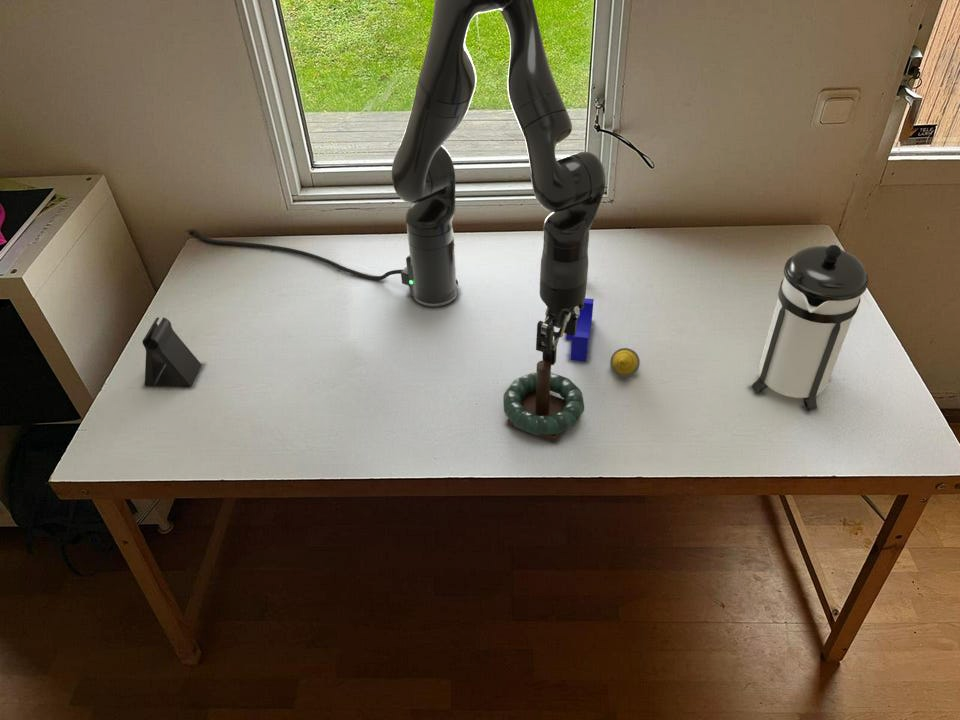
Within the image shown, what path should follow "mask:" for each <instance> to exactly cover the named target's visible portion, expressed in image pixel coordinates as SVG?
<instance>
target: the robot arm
mask: <svg viewBox="0 0 960 720" xmlns="http://www.w3.org/2000/svg"><path fill="white" fill-rule="evenodd" d="M534 3H535V2H534V0H434V5H433V13H432V21H431V26H430V32H429V35H428V36H429V37H428V40H427V46H426V49H425V53H424V59H423V62H422V66H421V69H420V71H419V77H418V79H417V84H416V88H415V91H414V92H415V93H414V98H413V102H412V106H411V110H410V113H409V117H408V120H407V123H406V127H405V131H404V133H403V136H402V139H401V141H400V144H399V146H398V149H397V151H396V154H395V156H394V159H393V162H392V166H391V181H392V185H393V189H394V191H395V193H396V194H397V196H398V197H399V198H400V199H401V200H402V201H404V202H405V203H409V204H411V205H410V207H409V208H408V210H407V211H406V213H405V225H406V232H407V233H406V234H407V242H408V244H407V245H408V253H409V254H408V256H407V257H406V259H405V262H406V263H405V264H406V266H405V267H404V268H403V269H393V270H389V271H387V272H385V273H384V274H383V275H370V274H366V273H363V272H359V271H357V270H355V269H351V268H348V267H345V266H343V265H341V264H339V263H337V262H334V261H332V260H330V259H328V258H325V257H322V256H319V255H317V254H313V253H311V252H308V251H307V252H306V251H303V250H300V249H295V248H291V247H285V246H278V245H272V244H264V243H255V242H245V241H244V242H243V241H233V240H218V239H212V238H209V237H206V236H204V235H203V234H202V233H201V232H200V231H198V230H197V229H194V228H193V229H190V230H189V231H188V235H192V234H195V235H196V236H197V237H198V238H200V239H201V240H202V241H204V242H207V243H209V244H210V243H211V244H215V245H228V246H240V247H249V248H250V247H251V248H260V249H268V250H276V251H281V252H287V253H292V254H296V255H300V256H304V257H308V258H310V259H314V260H317V261H319V262H323V263H325V264H328V265H330V266H332V267H334V268H336V269H338V270H341V271H343V272H346V273H349V274H352V275H354V276H357V277H360V278H363V279H367V280H372V281H381V280H385V279H387V278H388V277H389V276H391V275H399V274H400V278H401V284H402V285H405V286H408V290H409V296H410V297H413V299H414V301H416V302H417V303H418V304H420V305H422V306H425V307H429V308H435V307H443V306H446V305H449V304H450V303H452V302H453V301H454V300H455V299H456V298H457V296H458V286H459V281H458V279H457V270H456V269H457V268H456V254H455V253H456V252H455V237H454V220H453V219H454V216H455V213H456V169H455V166H454V161H453V159H452V157H451V154H450V153H449V151H448V150H447V149H446V147H445V146H444V144H445V143H446V141H447V140H448V139H449V138H450V137H451V136H452V135H453V133H454V132H455V131H456V130H457V128H458V127H459V126H460V124H461V123H462V122H463V121H464V118H465V117H466V115H467V113H468V110H469V107H470V105H471V102H472V99H473V96H474V93H475V90H476V85H477V73H476V68H475V65H474V63H473V60H472V57H471V55H470V53H469V51H468V49H467V46H466V38H467V33H468V30H469V26H470V24H471V21H472V19H473V18H474V17H475V16H476V15H479V14H483V13H488V12H493V11H497V10H498V11H499V12H500V14H501V16H502V17H503V19H504V22H505V24H506V27H507V30H508V34H509V43H510V46H509V47H510V49H509V50H510V52H509V64H508V70H507V71H508V73H507V95H508V99H509V103H510V106H511V109H512V111H513V114H514V116H515V119H516V121H517V123H518V126H519V128H520V130H521V131H520V132H521V133H522V135H523V138H524V141H525V145H526V153H527V157H528V162H529V171H530V180H531V186H532V192H533V194H534V197H535V199H536V201H537V202H538V204H539V205H540V206H541V207H542V208H543V209H545V210H546V211H548V212H551V213H549V214H548V215H547V217H546V218H545V220H544V222H543V229H542V252H541V256H540V273H539V297H540V299H541V301H542V302H543V303H544V304H545V306H546V309H545V314H544V315H545V318H544V321H542V320H538V322H537V324H536V327H537V328H536V339H535V340H536V341H535V350H536V351H537V352H541V353H542V359H541V361H542V360H546V361H548V362H550V363H551V366H554V365H555V364H556V362H557V351H558V350H557V348H558V343H559V341H560V339H561V338H563V336H564V335H566V334H568V335H571V336H574V335H575V334H576V328H577V318H578V317H579V315H580V312H579V310H580V309H581V310H582V309H583V308H584V299H585V298H586V295H587V284H588V275H589V274H588V273H589V245H590V244H589V243H590V230H591V227H592V226H593V223H594V220H595V218H596V216H597V212H598V210H599V207H600V205H601V203H602V200H603V197H604V194H605V189H606V173H605V168H604V165H603V163H602V161H601V159H599V157H598V156H597V155H595V153H592V152H590V151H579V152H575V153H573V154H569V155H567V156H564V157H562V158H561V157H560V158H558V159H557V157H556V145H557V144H560V143H561V142H562V141H564V140H565V139H567V138H568V137H569V136H570V135H571V133H572V130H573V123H572V121H571V117H570V114H569V113H568V112H569V111H567V108H566V105H565V103H564V100H563V98H562V95H561V92H560V91H559V88H558V86H557V83H556V82H555V81H556V80H555V78H554V76H553V73H552V70H551V66H550V64H549V61H548V57H547V54H546V49H545V46H544V42H543V38H542V33H541V29H540V25H539V20H538V15H537V11H536V8H535V7H536V6H535V4H534ZM555 328H556V329H559V330H558V331H557V330H556V329H555Z"/></svg>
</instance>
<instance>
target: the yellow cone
mask: <svg viewBox="0 0 960 720" xmlns="http://www.w3.org/2000/svg"><path fill="white" fill-rule="evenodd" d="M640 364H641V361H640V357H639V355H638V354H637V353H636V351H634V350H633V349H631V348H629V347H621V348H619V349H617V350H615V352H613V354H611V356H610V360H609V365H610V368H611V370H612V372H613V373H614V374H616V375H617V376H619V377H623V378H629V377H631V376H633V375H635V374H636V373H637V371H638V370H639V368H640Z"/></svg>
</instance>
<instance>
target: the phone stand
mask: <svg viewBox="0 0 960 720" xmlns="http://www.w3.org/2000/svg"><path fill="white" fill-rule="evenodd" d="M159 320H160V317H158V316H157V317H156V318H154V321H153V323H152V324H151V326H150V328H149V329H148V330H147V333H146V334H145V336H144V338H143V339H142V341H141V342H142V346H143V347H144V349H145V367H144V368H145V369H144V386H145V387H162V388H163V387H167V388H168V387H169V388H191V387H192V386H193V384H194V381H195V380H196V378H197V375H198V373H199V371H200V369H201V367H202V363H201V362H200V361H199V360H198V359H197V357H196V356H195V354H193V352H192V351H191V350H190V349H189V347H187V345H186V344H185V343H184V341H183V339H181V338H180V336H178V334H177V333H176V332H175V331H174V329H173V327H172V323H171V321H170V320H169V319H168V318H166V317H162V319H161V320H160V321H159ZM158 321H159V323H158Z"/></svg>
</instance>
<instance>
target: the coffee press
mask: <svg viewBox="0 0 960 720" xmlns="http://www.w3.org/2000/svg"><path fill="white" fill-rule="evenodd" d="M784 264H785V265H784V268H783V276H784V277H783V279H781V282H780V285H779V289H778V291H777V292H778V294H777V300H776V304H775V308H774V311H773V315H772V318H771V321H770V325H769V328H768V332H767V335H766V339H765V341H764V347H763V350H762V353H761V357H760V361H759V365H758V373H759V377H758V379H757V380H755V381H754V382H753V384H752V385H751V388H752V390H753V391H754V392H755V394H760V393H762V392H763V391H764V390H766V389H767V388H770V390H772V391H773V392H775V393H777V394H779V395H782V396H785V397H788V398H793V399H802V401H803V404H804V408H805V410H806V411H807V412H809V411H815V410H817V408H818V405H817V395H819V394H821V393H822V392H823V391H824V390H825V389H826V388H827V385H828V384H829V382H830V379H831V376H832V373H833V371H834V368H835V366H836V363H837V360H838V358H839V355H840V352H841V349H842V347H843V344H844V342H845V339H846V337H847V333H848V331H849V328H850V326H851V324H852V320H853V318H854V316H855V315H856V313H857V311H858V310H859V306H860V303H861V296H862V295H863V294H864V293H865V291H866V290H867V288H868V286H869V280H870V279H869V276H868V275H869V274H868V273H867V271H866V268H865V265H864V264H863V263H862V261H861V260H860V259H859V258H857V257H856V256H855V255H853V254H852V253H850V252H848V251H846V250H843V249H841V248H840V246H839V245H836V244H831V245H829V246H826V245H818V246H817V245H816V246H809V247H805V248H803V249H801V250H799V251H797V252H795V254H793V255H792V256H790V257H789V258H788V259H787V261H786V262H785V263H784Z"/></svg>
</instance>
